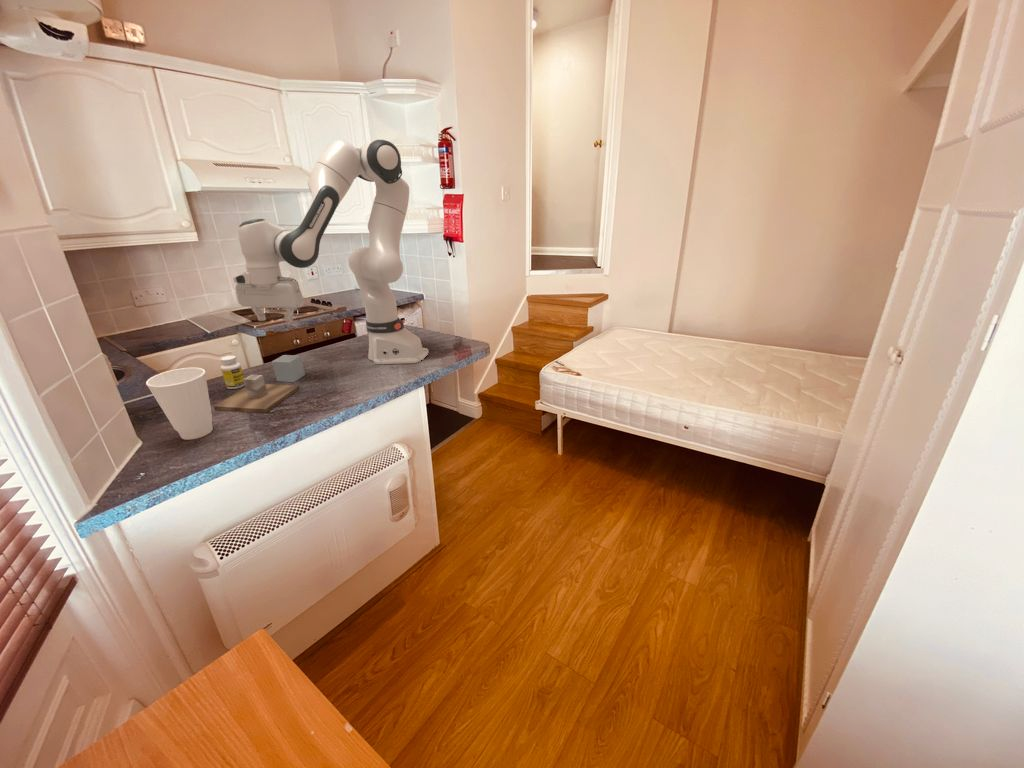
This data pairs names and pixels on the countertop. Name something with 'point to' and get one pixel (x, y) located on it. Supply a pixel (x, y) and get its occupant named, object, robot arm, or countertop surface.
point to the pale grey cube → (288, 368)
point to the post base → (257, 403)
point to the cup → (184, 400)
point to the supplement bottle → (232, 372)
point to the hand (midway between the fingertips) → (275, 320)
